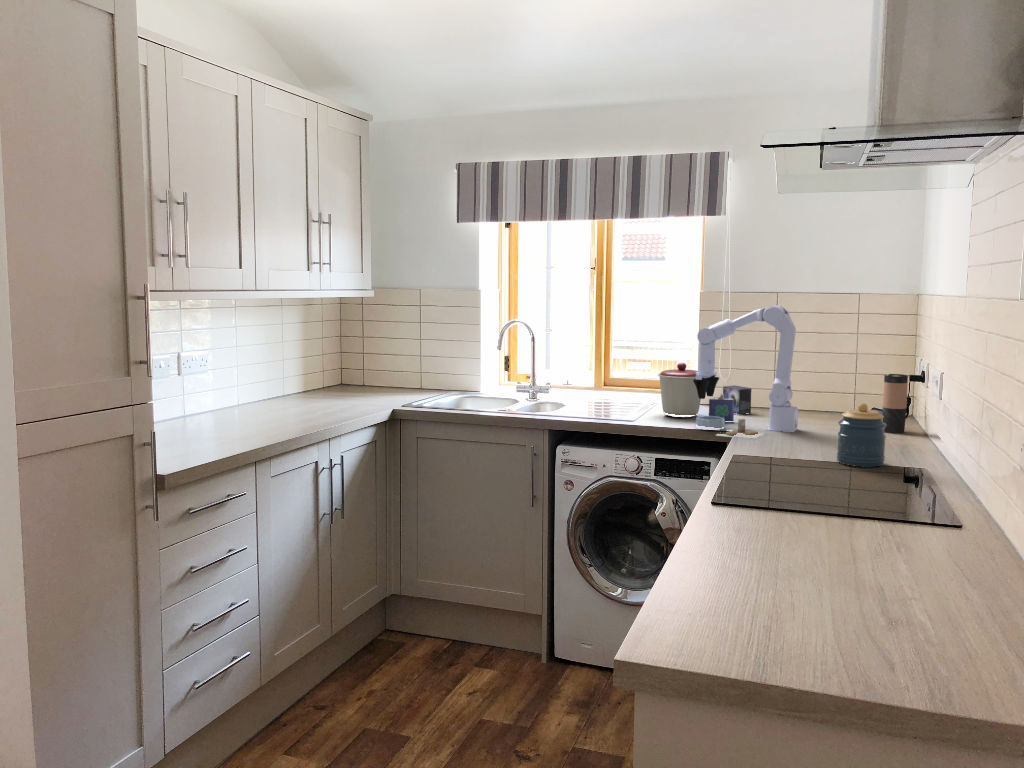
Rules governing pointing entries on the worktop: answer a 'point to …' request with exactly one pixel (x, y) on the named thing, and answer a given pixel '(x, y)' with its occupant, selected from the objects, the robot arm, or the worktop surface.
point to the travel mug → (895, 402)
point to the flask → (722, 408)
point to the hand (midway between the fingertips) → (705, 397)
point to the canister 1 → (679, 391)
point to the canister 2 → (861, 437)
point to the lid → (741, 429)
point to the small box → (739, 398)
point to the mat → (723, 435)
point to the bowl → (710, 421)
